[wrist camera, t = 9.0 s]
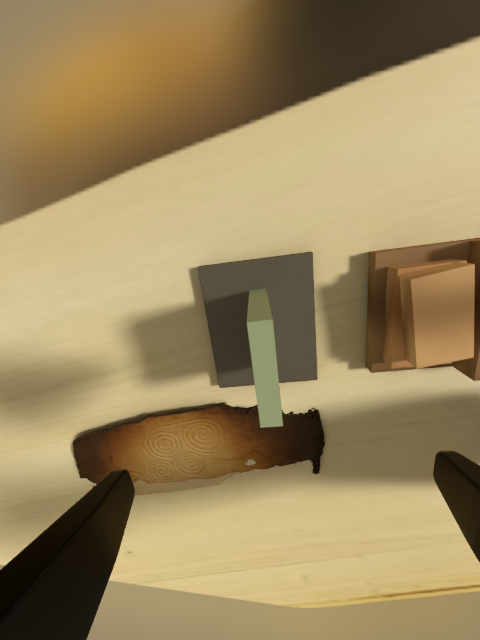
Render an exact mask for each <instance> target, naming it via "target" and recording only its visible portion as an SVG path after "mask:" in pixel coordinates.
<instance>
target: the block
mask: <svg viewBox="0 0 480 640" xmlns="http://www.w3.org/2000/svg"><path fill="white" fill-rule="evenodd" d="M247 329H248V336H249V344H250V351H251V359H252V367H253V374H254V382H255V389H256V397H257V405H258V412H259V420H260V427H261V428H263V427H278V426H283V420H282V410H281V399H280V389H279V379H278V368H277V358H276V348H275V337H274V327H273V318H272V314H271V309H270V305H269V300H268V296H267V291H266V289H258V290H250V291H249V301H248V313H247Z"/></svg>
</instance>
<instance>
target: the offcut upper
mask: <svg viewBox="0 0 480 640" xmlns="http://www.w3.org/2000/svg"><path fill="white" fill-rule="evenodd" d="M399 281H400V293H401V305H402V318H403V330H404V342H405V355H406V360H407V361H408V362H409V363H410V364H412V365H413V366H414V367H415V368H416V369H419V368H424V367H429V366H434V365H439V364H444V363H449V362H454V361H459V360H464V359H469V358H474V296H475V264H471V263H463V262H455V263H451V264H447V265H443V266H439V267H435V268H431V269H426V270H422V271H418V272H414V273H410V274H406V275H402V276H399Z"/></svg>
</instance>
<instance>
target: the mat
mask: <svg viewBox="0 0 480 640" xmlns="http://www.w3.org/2000/svg"><path fill="white" fill-rule="evenodd" d="M198 270H199V276H200V281H201V287H202V292H203V298H204V304H205V309H206V315H207V320H208V326H209V331H210V337H211V342H212V348H213V354H214V359H215V365H216V370H217V376H218V381H219V387H220V388H225V387H237V386H249V385H255V382H254V374H253V367H252V359H251V351H250V344H249V336H248V329H247V313H248V301H249V291H250V290H258V289H266V291H267V296H268V300H269V305H270V309H271V314H272V318H273V327H274V337H275V348H276V358H277V368H278V379H279V383H285V382H297V381H309V380H317V357H316V331H315V305H314V279H313V253H312V252H306V253H298V254H290V255H283V256H275V257H267V258H259V259H252V260H244V261H236V262H228V263H220V264H213V265H205V266H199V267H198Z"/></svg>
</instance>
